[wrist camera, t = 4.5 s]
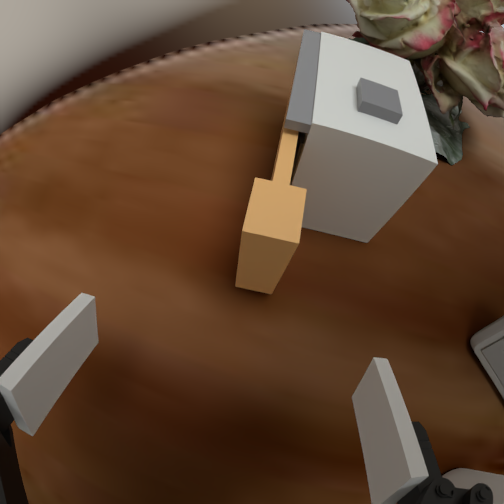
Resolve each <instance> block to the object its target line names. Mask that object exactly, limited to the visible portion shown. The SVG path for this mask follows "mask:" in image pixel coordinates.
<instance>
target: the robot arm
mask: <svg viewBox="0 0 504 504" xmlns="http://www.w3.org/2000/svg"><path fill="white" fill-rule="evenodd" d="M98 342H99V341H98V331H97V319H96V305H95V297H94V296H91V295H88V294H84V293H81V294H80V295H79V296H78V297H77V298H76V299H75V300H73V301H72V302H71V303H70V304H69V305H68V306H67V307H66V308H65V309H64V310H63V311H62V312H61V313H60V314H59V315H58V316H57V317H56V318H55V319H54V320H53V321H52V322H51V323H50V324H49V325H48V326H47V327H46V328H45V329H44V330H43V331H42V332H41V333H40V334H39V335H38V336H37V337H36V338H35V340H34V341H33V340H31V339H29V338H26V339H24V340H22V341H20V342H18V343H17V344H16V345H15V346H14V347H13V348H12V349H11V351H9V352H8V353H7V354H6V355H5V357H3V358H2V359H1V361H0V504H29V503H28V500H27V496H26V493H25V489H24V485H23V481H22V477H21V473H20V469H19V464H18V459H17V454H16V449H15V443H14V437H13V431H12V427H11V423H12V422H13V420H15V422H16V424H17V426H18V428H20V429H21V430H23V431H25V432H26V433H28V434H30V435H31V436H33V435H34V434H35V432H36V431H37V429H38V428H39V426H40V425H41V423H42V422H43V420H44V419H45V417H46V416H47V414H48V413H49V411H50V410H51V408H52V407H53V405H54V404H55V402H56V401H57V399H58V398H59V396H60V395H61V394H62V392H63V391H64V389H65V388H66V386H67V385H68V384H69V382H70V381H71V379H72V378H73V377H74V375H75V374H76V372H77V371H78V370H79V368H80V367H81V365H82V364H83V363H84V361H85V360H86V358H87V357H88V356H89V354H90V353H91V352H92V350H93V349H94V348H95V346H96V345H97V344H98ZM352 401H353V406H354V410H355V415H356V420H357V425H358V430H359V435H360V440H361V445H362V450H363V455H364V461H365V466H366V472H367V478H368V484H369V490H370V496H371V502H372V504H395V503H398V504H493V492H492V490H491V488H490V487H489V486H488V485H486V484H484V483H478V484H476V485H474V486H473V487H472V488H471V489H463V488H456V487H455V486H454V484H453V483H452V482H451V481H450V480H449V479H446V478H442V476H441V473H440V470H439V467H438V464H437V461H436V458H435V455H434V452H433V449H431V448H432V446H431V444H430V442H429V438H428V435H427V433H426V430H425V429H424V428H423V426H422V425H421V424H420V423H419V422H411V420H410V417H409V414H408V411H407V408H406V406H405V403H404V400H403V398H402V395H401V392H400V390H399V387H398V384H397V382H396V379H395V377H394V374H393V372H392V369H391V366H390V364H389V362H388V359H385V358H376V357H373V359H372V361H371V363H370V365H369V367H368V369H367V370H366V372H365V374H364V376H363V378H362V380H361V381H360V383H359V385H358V387H357V388H356V390H355V392H354V394H353V395H352Z"/></svg>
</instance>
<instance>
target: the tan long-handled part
mask: <svg viewBox="0 0 504 504" xmlns="http://www.w3.org/2000/svg"><path fill="white" fill-rule="evenodd" d="M297 62H298V61H297ZM296 67H297V65H296ZM295 72H296V70H295ZM294 76H295V74H294ZM293 81H294V78H293ZM292 86H293V83H292ZM291 91H292V87H291ZM290 96H291V92H290ZM290 96H289V100H288V105H287V109H286V113H285V118H284V122H283V126H282V131H281V135H280V140H279V145H278V149H277V154H276V159H275V163H274V168H273V172H272V177H271V181H270V180H265V179H261V178H256V177H255V180H254V184H253V188H252V192H251V197H250V201H249V205H248V209H247V213H246V217H245V221H244V225H243V229H242V235H241V243H240V251H239V259H238V267H237V275H236V283H235V287H240V288H244V289H249V290H253V291H258V292H263V293H267V294H272V293H273V291H274V289H275V287H276V285H277V284H278V282H279V280H280V278H281V276H282V274H283V273H284V271H285V269H286V267H287V265H288V263H289V261H290V260H291V258H292V256H293V254H294V252H295V250H296V248H297V246H298V245H299V240H300V234H301V227H302V220H303V213H304V206H305V199H306V192H307V189H304V188H300V187H296V186H292V185H290V181H291V175H292V169H293V163H294V157H295V151H296V145H297V139H298V133H299V131H295V130H291V129H287V128H284V125H285V120H286V115H287V110H288V106H289V101H290Z"/></svg>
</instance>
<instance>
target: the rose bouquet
mask: <svg viewBox="0 0 504 504" xmlns="http://www.w3.org/2000/svg"><path fill="white" fill-rule="evenodd" d="M346 1H348V2H349V3H350V5H351V6H352V8H353V10H354V12H355V14H356V15H355V17H356V20H357V26H358V28H359V29H360V31H356V32H355V33H354V34H353V35H352V36H354V37H356V38H354V39H350V38H349V40H353V41H356V42H359V43H362V44H365V45H368V46H371V47H374V48H377V49H380V50H382V51H385V52H388V53H391V54H393V55H396V56H398V57H401V58H403V59H406V60H408V61H410V64H411V67H412V69H413V72H414V75H415V78H416V81H417V84H418V88H419V91H420V92H422V93H424V94H426V95H423V94H421V97H422V101H423V104H424V108H425V111H426V115H427V119H428V122H429V126H430V130H431V134H432V139H433V143H434V148H435V152H437V153H439V154H440V155H443V156H444V157H446V158H447V161H448V162H449V163H450V164H451V165H454V164H455V163H456V162H458V161H459V160H461V159H462V156H463V153H462V133H463V131H464V129H466V128H469V126H468V124H467V123H465V122H460V121H459V119H458V118H459V115H460V113H461V107H462V103H463V101H462V100H463V96H465V97H467V98H468V99H469V100H470V101H471V102H472V103H473V104H474V105H475V106H476V107H477V108H478V109H479V110H480V111H481V112H482V113H483V114H485V115H486V116H493V117H503V118H504V28H503V27H502V26H501V25H502V24H504V0H346ZM479 31H483V32H484V33H482V32H479ZM429 88H430V90H431V92H432V94H430V95H429V94H427V93H426V92H424V90H427V91H428V89H429Z"/></svg>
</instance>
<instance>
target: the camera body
mask: <svg viewBox="0 0 504 504" xmlns="http://www.w3.org/2000/svg"><path fill="white" fill-rule="evenodd" d="M284 128H287V129H291V130H295V131H299V133H298V139H297V145H296V151H295V157H294V163H293V169H292V175H291V181H290V185H292V186H296V187H300V188H304V189H307V192H306V199H305V206H304V213H303V220H302V227H303V228H307V229H312V230H316V231H320V232H324V233H329V234H333V235H337V236H341V237H345V238H349V239H353V240H357V241H361V242H365V243H368V242H369V241H370V240H371V239H372V238H373V236H374V235H375V234H376V233H377V232H378V231H379V230H380V229H381V228H382V227H383V226H384V225H385V224H386V223H387V221H388V220H389V219H390V218H391V217H392V216H393V215H394V214H395V213H396V212H397V211H398V209H399V208H400V207H401V206H402V205H403V204H404V203H405V202H406V200H407V199H408V198H409V197H410V196H411V195H412V194H413V193H414V191H415V190H416V189H417V188H418V187H419V186H420V185H421V183H422V182H423V181H424V180H425V179H426V178H427V176H428V175H429V174H430V173H431V172H432V171H433V169H434V168H435V167H436V166H437V165H438V162H437V157H436V152H435V148H434V143H433V139H432V134H431V130H430V126H429V122H428V119H427V115H426V111H425V108H424V104H423V101H422V97H421V94H420V91H419V88H418V84H417V81H416V78H415V75H414V72H413V69H412V67H411V64H410V61H408V60H406V59H403V58H401V57H398V56H396V55H393V54H391V53H388V52H385V51H382V50H380V49H377V48H374V47H371V46H368V45H365V44H362V43H359V42H356V41H353V40H349V39H346V38H343V37H339V36H336V35H332V34H328V33H325V32H321V33H318V32H314V31H309V30H305V29H304V33H303V37H302V42H301V47H300V52H299V57H298V62H297V67H296V72H295V76H294V81H293V86H292V91H291V96H290V101H289V106H288V110H287V115H286V120H285V125H284Z"/></svg>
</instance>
